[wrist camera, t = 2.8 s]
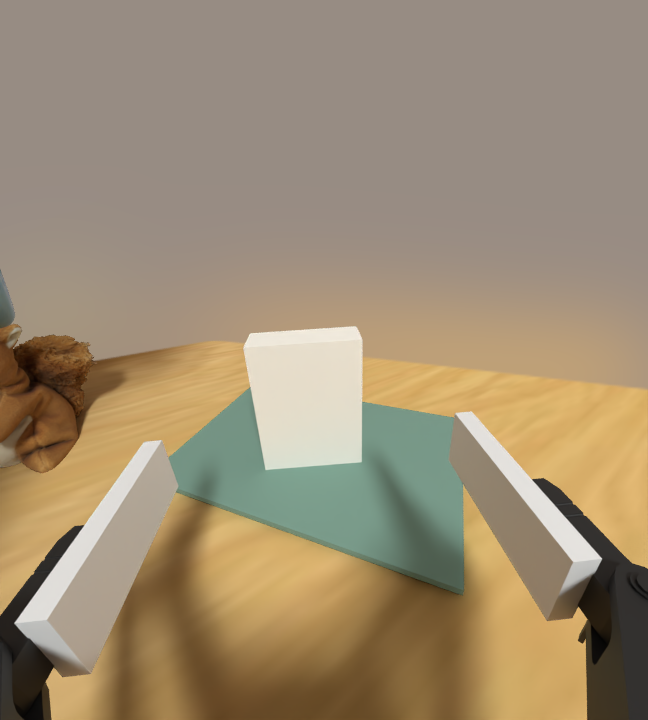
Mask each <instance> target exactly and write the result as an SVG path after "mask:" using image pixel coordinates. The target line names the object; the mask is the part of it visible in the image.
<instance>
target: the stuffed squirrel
mask: <svg viewBox="0 0 648 720" xmlns="http://www.w3.org/2000/svg"><path fill="white" fill-rule="evenodd" d="M21 332H22V329H21V327H20V326H19V325H16V324H13V325H9V326H7V327H3V328H0V467H10V466H13V465H16V464H19V463H21V462H22V463H23V464H24V465H25V466H26V467H28V468H30V469H31V470H34V471H36V472H40V473H44V472H47V471H49V470H52V469H53V468H55V467H56V466H57V465H58V464H59V463H60V462H61V461H62V460H63V459H64V458H65V456H66V455H67V454H68V452H69V451H70V450H71V449H72V447H73V446H74V445H75V443H76V441H77V440H78V431H77V423H76V418H75V417H78V416H79V415H80V411H81V410H82V409H84V407H83V401H84V391H83V390H81V385H82V384H83V382H86V380H87V379H86V378H85V376H87V373H88V372H90V370H89V367H90V366H92V365H93V364H97V363H96V362H94V361H93V360H91V359H93V358H94V357H93V358H92V355H91V353H89V350H88V348H87V347H86V346H90V344H89V343H86V344H85V343H84V342H81V343H79V342H76V341H74V340H75V339H74V338H72V337H70V336H66V335H65V336H55V335H49V336H45V337H34V338H33V339H32V340H29V341H28V342H27V341H26V342H25V343H24V344H19V346H17V347H15V349H13V347H14V346H15V344H16V343H17V341H18V338H19V336H20V334H21Z"/></svg>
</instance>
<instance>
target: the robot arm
mask: <svg viewBox="0 0 648 720" xmlns="http://www.w3.org/2000/svg"><path fill="white" fill-rule="evenodd" d="M14 318H15V312H14V308H13V304H12V301H11V299H10V295H9V292H8V290H7V287H6V284H5V281H4V278H3V275H2V273H1V270H0V328H3V327H7V326H9V325H10V324H11V323H12V322H13V320H14ZM448 460H449V462H450V463H451V465H452V466H453V468H454V470H455V471H456V473H457V475H458V476H459V478H460V480H461V481H462V483H463V484H464V486H465V488H466V489H467V491H468V493H469V494H470V496H471V498H472V499H473V501H474V502H475V504H476V506H477V507H478V509H479V511H480V512H481V514H482V516H483V517H484V519H485V520H486V522H487V524H488V525H489V527H490V529H491V530H492V532H493V534H494V535H495V537H496V538H497V540H498V542H499V543H500V545H501V547H502V548H503V550H504V552H505V553H506V555H507V556H508V558H509V560H510V561H511V563H512V565H513V566H514V568H515V570H516V571H517V573H518V574H519V576H520V578H521V579H522V581H523V583H524V584H525V586H526V587H527V589H528V591H529V592H530V594H531V596H532V597H533V599H534V601H535V602H536V604H537V605H538V607H539V609H540V610H541V612H542V614H543V615H544V617H545V619H546V620H547V621H551V620H560V619H569V618H573V616H574V614H575V612H576V610H577V608H578V606H579V608H580V609H581V611H582V612H583V613H584V615H585V616H586V618H587V619H588V620H587V622H586V624H585V625H584V627H583V629H582V631H581V633H580V635H579V639H578V641H579V642H581V643H583V642H584V641H585V639H586V673H587V720H648V569H647V568H645V567H642V566H639V565H636V564H632V563H631V562H630V561H629V560H628V559H627V558H626V557H625V556H624V555H623V554H622V553H621V552H620V551H619V550H618V549H617V548H616V547H615V546H614V545H613V544H612V543H611V542H610V541H609V539H608V538H607V537H606V536H605V535H604V534H603V533H602V532H601V531H600V530H599V529H598V528H597V527H596V526H595V525H594V524H593V523H592V522H591V521H590V520H589V519H588V518H587V517H586V516H584V515H583V512H582V511H581V510H580V509H579V508H578V507H577V506H576V505H573V502H572V501H571V500H570V499H569V498H568V497H567V496H566V495H565V494H564V493H563V492H562V491H561V490H560V489H559V488H558V487H556V486H555V485H553V484H552V483H550V482H549V481H547V480H546V479H544V478H541V479H531V478H530V477H529V476H528V475H527V474H526V472H525V471H524V470H523V469H522V468H521V467H520V466H519V465H518V463H517V462H516V461H515V460H514V459H513V458H512V457H511V456H510V454H509V453H508V452H507V451H506V450H505V449H504V448H503V447H502V445H501V444H500V443H499V442H498V441H497V440H496V439H495V438H494V436H493V435H492V434H491V433H490V432H489V431H488V430H487V429H486V427H485V426H484V425H483V424H482V423H481V422H480V421H479V420H478V418H477V417H476V416H475V415H474V414H473V413H472V412H462V413H455V416H454V424H453V431H452V438H451V445H450V452H449V459H448ZM177 488H178V483H177V481H176V478H175V475H174V472H173V470H172V467H171V464H170V461H169V459H168V456H167V453H166V450H165V447H164V445H163V442H162V440H159V441H148V442H144V443H143V444H142V446H141V447H140V448H139V450H138V451H137V453H136V454H135V455H134V457H133V458H132V460H131V461H130V462H129V464H128V465H127V467H126V468H125V469H124V471H123V472H122V474H121V475H120V476H119V478H118V479H117V481H116V482H115V483H114V485H113V486H112V488H111V489H110V490H109V492H108V493H107V495H106V496H105V497H104V499H103V500H102V502H101V503H100V504H99V506H98V507H97V509H96V510H95V511H94V513H93V514H92V516H91V517H90V518H89V520H88V521H87V523H86V524H85V525H81V526H74V527H73V528H72V529H71V530H70V531H68V532H67V533H66V534H65V535H64V536H63V537H62V538H60V539H59V540H58V541H57V542H56V544H55V545H54V546H53V548H52V549H51V550H50V552H49V553H48V554H47V555H46V557H45V560H44V561H42V562H41V563H40V565H39V566H38V567H37V569H36V570H35V571H34V574H33V575H31V576H30V578H29V579H28V580H27V582H26V583H25V584H24V586H23V587H22V588H21V589H20V591H19V592H18V593H17V595H16V596H15V597H14V599H13V600H12V601H11V603H10V604H9V605H8V606H7V608H6V609H5V610H4V612H3V613H2V614H1V616H0V720H51V710H50V698H49V689H48V687H47V685H46V683H45V682H46V680H47V678H48V676H49V675H50V673H51V671H52V669H53V667H54V668H55V669H56V670H57V671H58V672H59V674H60V675H61V676H62V677H68V676H77V675H86V674H91V672H92V670H93V668H94V666H95V664H96V662H97V660H98V657H99V655H100V653H101V651H102V649H103V647H104V645H105V642H106V640H107V638H108V636H109V634H110V632H111V630H112V627H113V625H114V623H115V621H116V619H117V617H118V615H119V612H120V610H121V608H122V606H123V604H124V602H125V600H126V597H127V595H128V593H129V591H130V589H131V587H132V585H133V582H134V580H135V578H136V576H137V574H138V572H139V570H140V567H141V565H142V563H143V561H144V559H145V557H146V555H147V552H148V550H149V548H150V546H151V544H152V542H153V540H154V537H155V535H156V533H157V531H158V529H159V527H160V525H161V522H162V520H163V518H164V516H165V514H166V512H167V510H168V507H169V505H170V503H171V501H172V499H173V497H174V495H175V492H176V490H177Z"/></svg>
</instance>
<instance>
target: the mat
mask: <svg viewBox="0 0 648 720" xmlns="http://www.w3.org/2000/svg"><path fill="white" fill-rule="evenodd" d="M453 424H454V418H453V417H447V416H441V415H435V414H430V413H424V412H418V411H412V410H406V409H401V408H395V407H389V406H383V405H377V404H372V403H366V402H362V462H358V463H346V464H333V465H321V466H308V467H296V468H283V469H271V470H265V465H264V459H263V454H262V448H261V442H260V437H259V431H258V426H257V420H256V415H255V409H254V404H253V398H252V393H251V387H250V388H249V389H247V390H246V391H245V392H244V393H243V394H242V395H241V396H239V397H238V398H237V399H236V400H235V401H234V402H232V403H231V404H230V405H229V406H228V407H227V408H226V409H224V410H223V411H222V412H221V413H220V414H219V415H217V416H216V417H215V418H214V419H213V420H212V421H211V422H209V423H208V424H207V425H206V426H205V427H204V428H202V429H201V430H200V431H199V432H198V433H197V434H196V435H194V436H193V437H192V438H191V439H190V440H189V441H187V442H186V443H185V444H184V445H183V446H182V447H180V448H179V449H178V450H177V451H176V452H175V453H174V454H172V455H171V456H170V457H169V458H168V459H169V461H170V464H171V467H172V470H173V472H174V475H175V478H176V481H177V483H178V488H177V490H176V492H177V493H180V494H183V495H185V496H188V497H191V498H194V499H197V500H199V501H202V502H205V503H208V504H210V505H213V506H216V507H219V508H221V509H224V510H227V511H230V512H233V513H235V514H238V515H241V516H244V517H246V518H249V519H252V520H255V521H257V522H260V523H263V524H266V525H269V526H271V527H274V528H277V529H280V530H282V531H285V532H288V533H291V534H293V535H296V536H299V537H302V538H305V539H307V540H310V541H313V542H316V543H318V544H321V545H324V546H327V547H329V548H332V549H335V550H338V551H341V552H343V553H346V554H349V555H352V556H354V557H357V558H360V559H363V560H365V561H368V562H371V563H374V564H377V565H379V566H382V567H385V568H388V569H390V570H393V571H396V572H399V573H401V574H404V575H407V576H410V577H413V578H415V579H418V580H421V581H424V582H426V583H429V584H432V585H435V586H437V587H440V588H443V589H446V590H449V591H451V592H454V593H457V594H460V595H462V596H463V593H464V534H463V483H462V481H461V480H460V478H459V476H458V475H457V473H456V471H455V470H454V468H453V466H452V465H451V463H450V462H449V460H448V459H449V452H450V445H451V438H452V431H453Z"/></svg>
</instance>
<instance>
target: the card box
mask: <svg viewBox="0 0 648 720" xmlns="http://www.w3.org/2000/svg"><path fill="white" fill-rule="evenodd" d="M244 354H245V359H246V365H247V370H248V376H249V381H250V387H251V393H252V398H253V404H254V409H255V415H256V420H257V426H258V431H259V437H260V442H261V448H262V454H263V459H264V465H265V470H271V469H283V468H296V467H308V466H321V465H333V464H346V463H358V462H362V338H361V336H360V333H359V331H358V329H357V327H356V326H354V327H339V328H325V329H309V330H296V331H295V330H294V331H279V332H265V333H251V334H250V335H249V337H248V339H247V341H246V343H245V345H244Z"/></svg>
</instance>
